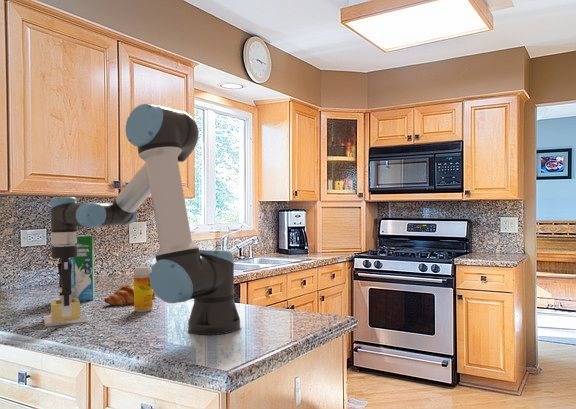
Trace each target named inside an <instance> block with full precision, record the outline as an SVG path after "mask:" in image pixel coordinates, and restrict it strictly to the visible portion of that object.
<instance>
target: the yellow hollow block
mask: <svg viewBox="0 0 576 409" xmlns="http://www.w3.org/2000/svg"><path fill="white" fill-rule="evenodd" d="M80 312H81V301H79V299H78V298H73V299H71V314H72V316H64V317H62V303H61V300H59V299H54V300H50V315H51V318H52V321H59V320H68V319H77V318H80Z"/></svg>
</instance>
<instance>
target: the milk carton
mask: <svg viewBox="0 0 576 409" xmlns="http://www.w3.org/2000/svg"><path fill="white" fill-rule="evenodd" d="M93 237H94V236H92V235H82V234H81V235H80V234H79V237H76V238H77V243H76V244H75V245H76V246H77V257H74V258H69V262H70V263H72V269H71V291H72V293H71V299H73V298H78V299H79V301H80V302H85V301H87V300H89V301H94V299H95V293H96V292H95V288H96V287H95V241H94V240H95V239H94V238H93ZM87 302H88V301H87Z"/></svg>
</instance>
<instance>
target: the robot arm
mask: <svg viewBox="0 0 576 409" xmlns="http://www.w3.org/2000/svg"><path fill="white" fill-rule="evenodd" d="M124 132H125V135H126V136H125V137H126V139H127V140H128V142H129V143H130V144H131V145H133V146H135V147H137V152H138V153H137V154H138V157H139V158H140V159H141V160H142V161H144V162H145V163H144V164H143V165H141V167H140V169H139V170H138V171H137V172H136V173H135V175H133V177H132V178H131V180H129V181H128V183H127V184H126V185H125V186H124V187H123V189H122V190H121V191H120V192H118V193H119V194H117V196H116V197H115V198H114V199H113V200H112V201H111V202H93V201H92V202H90V201H89V202H77V198H76V197H74V196H54V197H53V198H51V199H50V211H49V212H50V230H51V232H50V244H51V245H52V246H51V248H50V250H51V251H50V252H51V253H50V254H51V255H50V256H51V259H56V260H57V259H58V263H57V269H58V270H57V271H58V275H59V276H58V279H59V280H58V287H59V291H58V292H59V294H58V296H59V297H58V300H61V303H62V317H64V316H72V314H71V293H72V291H71V269H72V263H70V262H69V258H74V257H77V246H76V245H75V244H76V243H77V238H76V237H79V235H80V234H78V228H89V229H90V228H97V227H109V226H126V225H131V224H132V223H134V222H135V221H136V220H137V216H138V208H139V207H140V206H141V205H142V204H143V203H144V202H145V200H147V198H149V197H151V201H152V206H153V207H152V208H153V214H154V220H155V225H156V232H157V239H158V244H159V248H158V250H157V252H156V254H155V256H154V257H155V263H154V264H152V266H151V269H152V271H150V276H149V278H150V284H151V287H152V291H154V293H155V294H156V297H157V298H158V299H160V300H161V301H162V302H164V303H168V304H177V303H180V304H181V303H186V302H188V301H190V300H193V305H192V308H191V311H190V315H189V318H188V322H187V328H188V331H189V332H190V333H193V334H195V335H196V334H197V335H209V336H210V335H212V336H213V335H224V334H228V333H232V332H235V331H238V330H239V329H240V328H241V318H240V316H239V312H238V309H237V306H236V303H235V280H234V279H235V276H234V275H235V273H234V272H235V270H234V269H235V268H234V266H235V262H234V254H233V253H232V252H231V251H230V250H221V249H220V250H218V249H217V250H216V249H200V247H199V246H198V245H196V244H195V243H194V242H193V240H192V236H191V235H192V234H191V228H190V223H189V219H188V218H189V217H188V210H187V206H186V200H185V194H184V188H183V187H184V186H183V182H182V176H181V171H180V165H179V163H183V162H186V160H187V158H189V157H190V155H191V154H192V152H193V151H194V150H195V148H196V146H197V144H198V141H199V134H200V133H199V128H198V124H197V123H196V120H195V119H194V118H193V117H192V116H191V115H190V114H189V113H187V112H185V111H182V110H178V109H172V108H170V107H165V106H160V105H159V104H153V103H152V104H151V103H143V104H142V103H141V104H138V105H137V106H136V107H134V108H133V109H132V111H130V113H129V116H127V119H126V123H125V130H124ZM150 195H151V196H150Z"/></svg>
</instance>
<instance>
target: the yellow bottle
mask: <svg viewBox="0 0 576 409" xmlns="http://www.w3.org/2000/svg"><path fill="white" fill-rule="evenodd" d="M151 268H152V266H149V265H143V266H142V265H141V266H135V267H134V269H133V286H134V304H133V305H134V307H133V308H134V310H135V312H137V313H138V312H139V313H145V312H146V313H147V312H150V311H151V310H152V309H153V308H154V307H153V298H152V291H153V290H152V287H151V284H150V278H149V276H150V271H152V269H151Z"/></svg>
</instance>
